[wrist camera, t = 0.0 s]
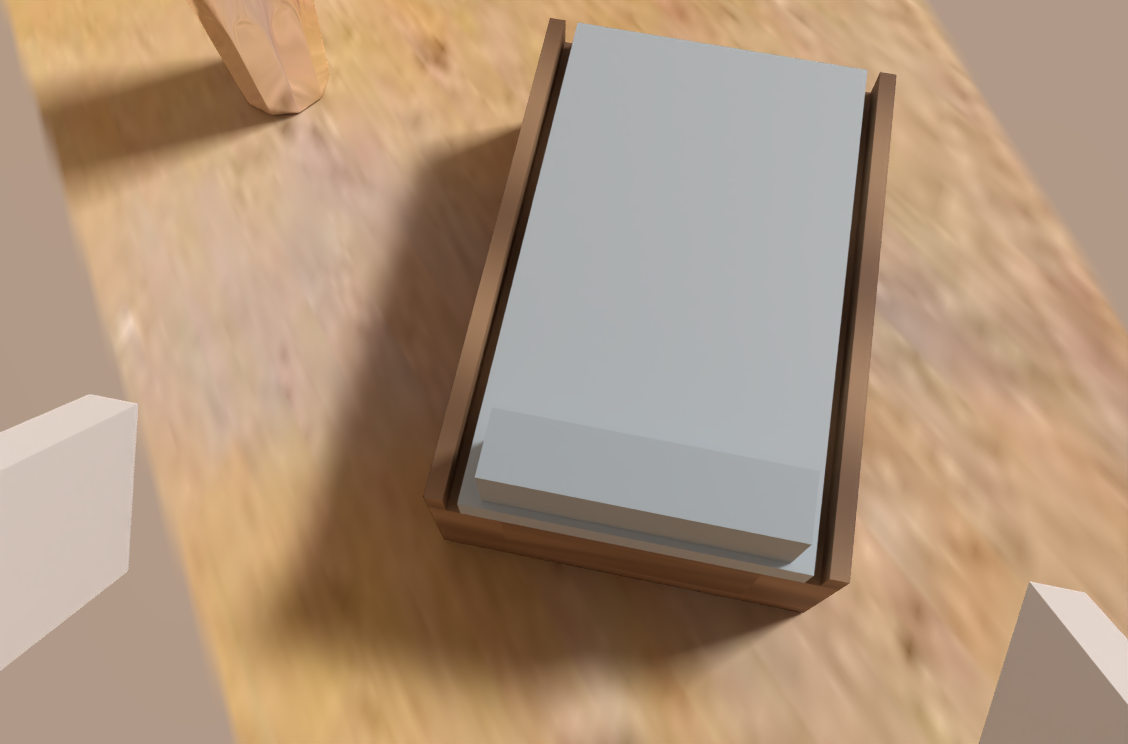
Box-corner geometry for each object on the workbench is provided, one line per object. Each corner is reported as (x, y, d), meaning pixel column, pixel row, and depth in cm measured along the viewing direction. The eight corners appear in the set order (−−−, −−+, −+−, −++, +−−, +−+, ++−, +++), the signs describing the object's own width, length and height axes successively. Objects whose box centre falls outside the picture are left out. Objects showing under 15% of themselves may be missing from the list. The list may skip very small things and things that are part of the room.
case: (803, 612, 29) (849, 582, 24) (444, 539, 30) (423, 497, 25) (851, 166, 35) (896, 75, 30) (551, 115, 36) (550, 17, 31)
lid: (804, 583, 25) (836, 557, 22) (460, 513, 26) (448, 480, 23) (858, 90, 31) (889, 19, 28) (577, 44, 32) (578, -30, 29)
